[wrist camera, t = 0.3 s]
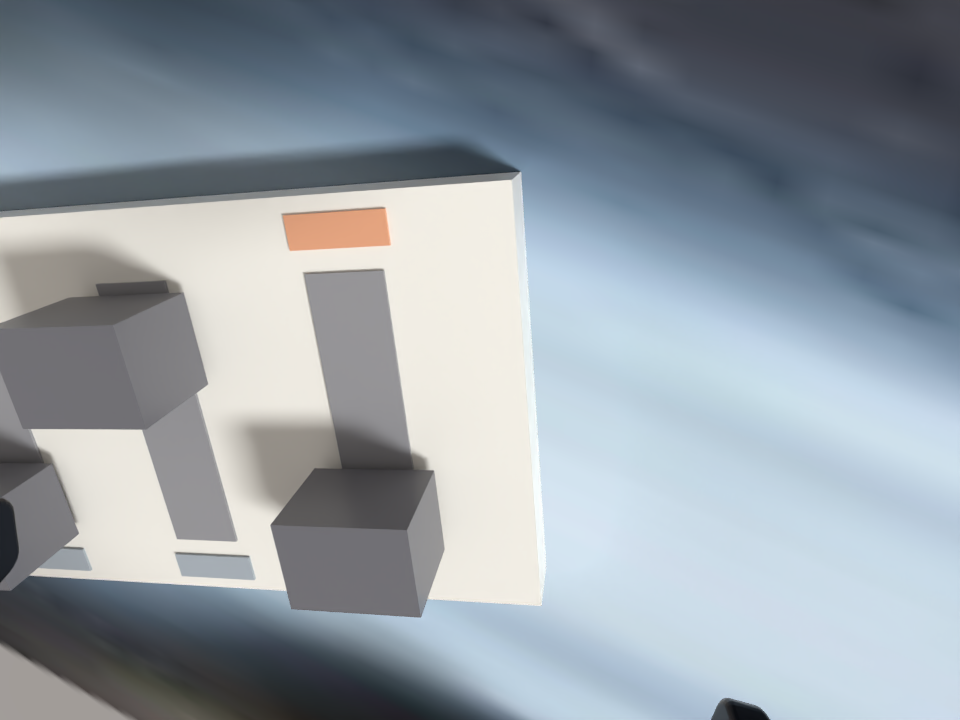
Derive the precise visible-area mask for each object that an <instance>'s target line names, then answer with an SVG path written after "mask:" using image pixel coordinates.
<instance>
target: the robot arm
mask: <svg viewBox="0 0 960 720" xmlns="http://www.w3.org/2000/svg"><path fill="white" fill-rule="evenodd" d="M18 556H19V541H18V534H17V527H16V519H15V512H14V508H13V505H12V504H11V503H10V501H8V500H6V499H4V498H0V583H1V582H2V581H3V579H4V578H5V577H6V576H7V575H8V574H9V573H10V571H11V570H12V569H13V567H14V565H15V564H16V562H17V559H18ZM711 720H770V719H769V717H768V716H767V714H766V713H765V712H764V711H763V710H762V709H761V708H759V707H758V706H756V705H752V704H749V703H745V702H742V701H738V700H734V699H731V698H724V699H722V700H721V701H720V702H719V704H718V705H717V707H716V710H715V712H714V714H713V716H712V718H711Z"/></svg>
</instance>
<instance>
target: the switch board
mask: <svg viewBox="0 0 960 720" xmlns="http://www.w3.org/2000/svg"><path fill="white" fill-rule="evenodd" d="M183 292H184V295H185V299H186V303H187V307H188V310H189V314H190V318H191V321H192V325H193V329H194V333H195V336H196V340H197V344H198V347H199V351H200V355H201V359H202V362H203V366H204V370H205V373H206V377H207V381H208V385H207V386H206V387H204V388H203V389H201V390H200V391H199V392H197V393H196V394H195V395H193V396H192V397H190V398H189V399H188V400H186V401H185V402H184V403H182V404H181V405H179V406H178V407H177V408H175V409H174V410H172V411H171V412H170V413H168V414H167V415H166V416H164V417H163V418H161V419H160V420H159V421H157V422H156V423H155V424H153V425H152V426H150V427H149V428H148V429H146V430H120V429H23V428H22V426H21V423H20V420H19V418H18V415H17V413H16V410H15V408H14V405H13V403H12V400H11V398H10V395H9V393H8V390H7V388H6V385H5V383H4V380H3V378H2V375H1V373H0V463H43V464H52V465H53V467H54V470H55V472H56V475H57V478H58V480H59V483H60V485H61V488H62V490H63V493H64V496H65V498H66V501H67V503H68V506H69V509H70V511H71V514H72V516H73V519H74V521H75V524H76V527H77V529H78V532H79V534H78V535H77V536H76V537H75V538H74V539H72V540H71V541H70V542H69V543H68V544H66V545H65V546H64V547H63V548H61V549H60V550H59V551H58V552H57V553H55V554H54V555H53V556H52V557H51V558H49V559H48V560H47V561H46V562H45V563H43V564H42V565H41V566H40V567H39V568H37V569H36V570H35V571H34V572H33V573H31V574H30V575H29V576H45V577H62V578H79V579H96V580H113V581H129V582H146V583H163V584H180V585H197V586H214V587H231V588H248V589H265V590H282V591H287V590H286V586H285V582H284V578H283V574H282V570H281V566H280V562H279V558H278V554H277V550H276V546H275V542H274V538H273V534H272V530H271V526H270V525H271V523H272V522H273V521H274V520H275V518H276V517H277V516H278V514H279V513H280V512H281V511H282V509H283V508H284V507H285V505H286V504H287V503H288V502H289V500H290V499H291V498H292V496H293V495H294V494H295V493H296V491H297V490H298V489H299V488H300V486H301V485H302V484H303V482H304V481H305V480H306V479H307V477H308V476H309V475H310V473H311V472H312V471H313V470H314V468H327V469H384V470H434V473H435V480H436V488H437V495H438V503H439V510H440V518H441V525H442V533H443V540H444V547H445V550H444V553H443V556H442V559H441V562H440V564H439V567H438V570H437V573H436V576H435V579H434V582H433V584H432V587H431V590H430V593H429V596H428V599H434V600H451V601H468V602H485V603H502V604H519V605H536V606H542V597H543V589H544V581H545V573H546V554H545V538H544V523H543V507H542V491H541V476H540V460H539V444H538V429H537V413H536V398H535V382H534V366H533V351H532V335H531V319H530V304H529V288H528V273H527V257H526V241H525V226H524V210H523V194H522V179H521V172H510V173H497V174H483V175H470V176H457V177H444V178H431V179H418V180H405V181H392V182H379V183H366V184H352V185H339V186H326V187H313V188H300V189H287V190H274V191H261V192H248V193H234V194H221V195H208V196H195V197H182V198H169V199H156V200H143V201H130V202H116V203H103V204H90V205H77V206H64V207H51V208H38V209H25V210H12V211H0V323H2V322H5V321H7V320H10V319H13V318H15V317H18V316H21V315H23V314H26V313H29V312H31V311H34V310H37V309H39V308H42V307H45V306H47V305H50V304H53V303H56V302H58V301H61V300H64V299H66V298H69V297H90V296H113V295H136V294H159V293H183Z"/></svg>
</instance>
